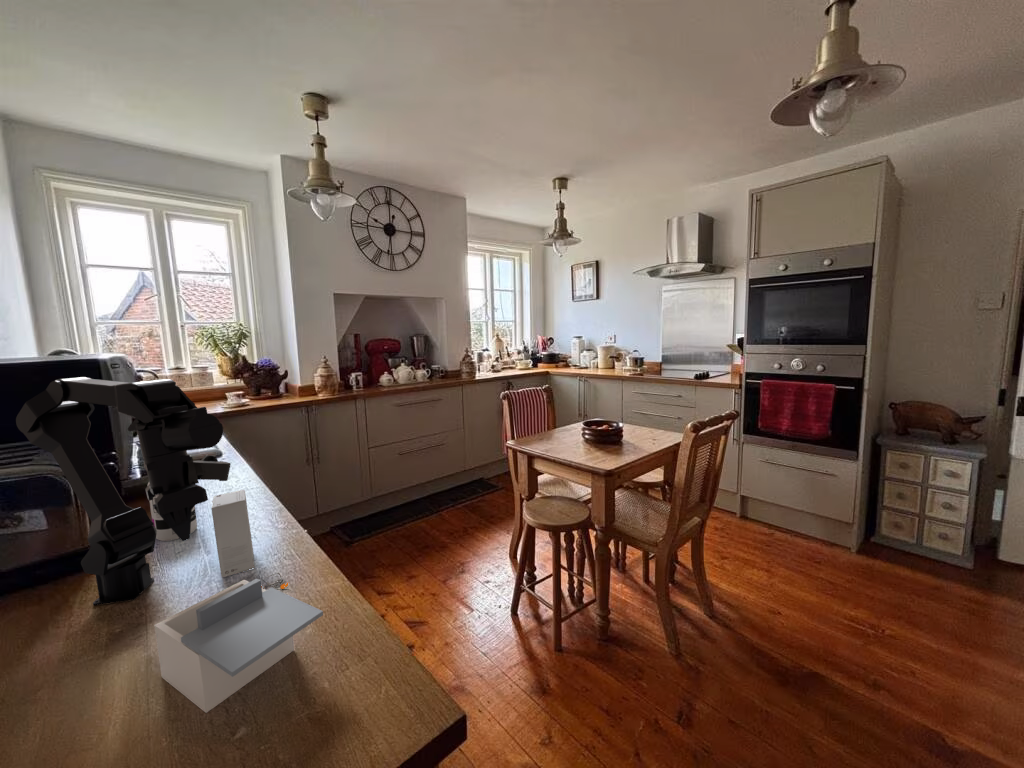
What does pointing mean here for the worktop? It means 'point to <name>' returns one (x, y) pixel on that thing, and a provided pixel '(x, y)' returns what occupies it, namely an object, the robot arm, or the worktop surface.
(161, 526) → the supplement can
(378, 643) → the worktop surface
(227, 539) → the skincare box
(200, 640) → the lid
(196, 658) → the mailer box
